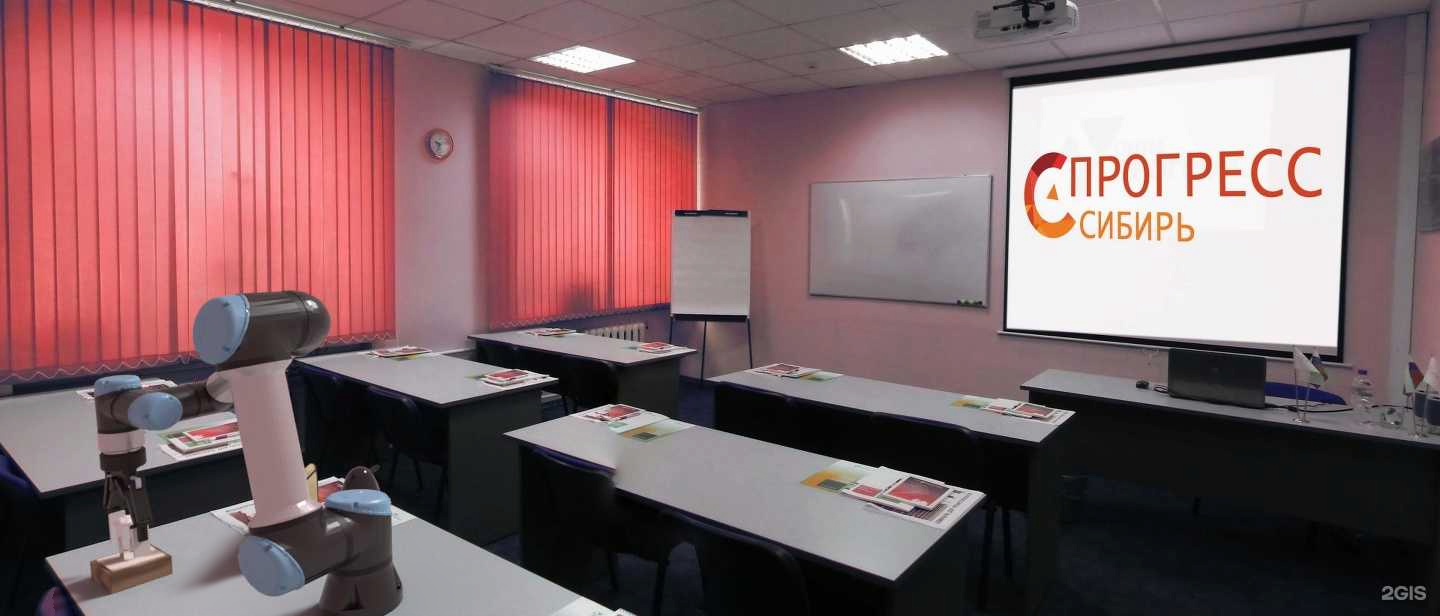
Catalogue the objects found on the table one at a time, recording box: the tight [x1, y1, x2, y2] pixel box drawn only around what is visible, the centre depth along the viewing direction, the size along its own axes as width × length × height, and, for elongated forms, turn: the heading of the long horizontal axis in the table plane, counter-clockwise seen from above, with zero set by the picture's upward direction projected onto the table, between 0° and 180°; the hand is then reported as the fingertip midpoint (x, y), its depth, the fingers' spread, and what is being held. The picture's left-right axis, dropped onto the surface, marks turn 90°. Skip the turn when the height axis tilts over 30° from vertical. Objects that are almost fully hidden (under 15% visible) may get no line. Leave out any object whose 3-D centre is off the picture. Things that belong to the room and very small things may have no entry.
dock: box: [89, 543, 174, 595], centre depth 152 cm, size 11×10×4 cm
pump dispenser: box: [340, 464, 381, 492], centre depth 179 cm, size 10×10×15 cm
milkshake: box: [113, 514, 137, 561], centre depth 151 cm, size 4×5×10 cm
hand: (130, 547), depth 151 cm, fingers open, 11 cm apart
